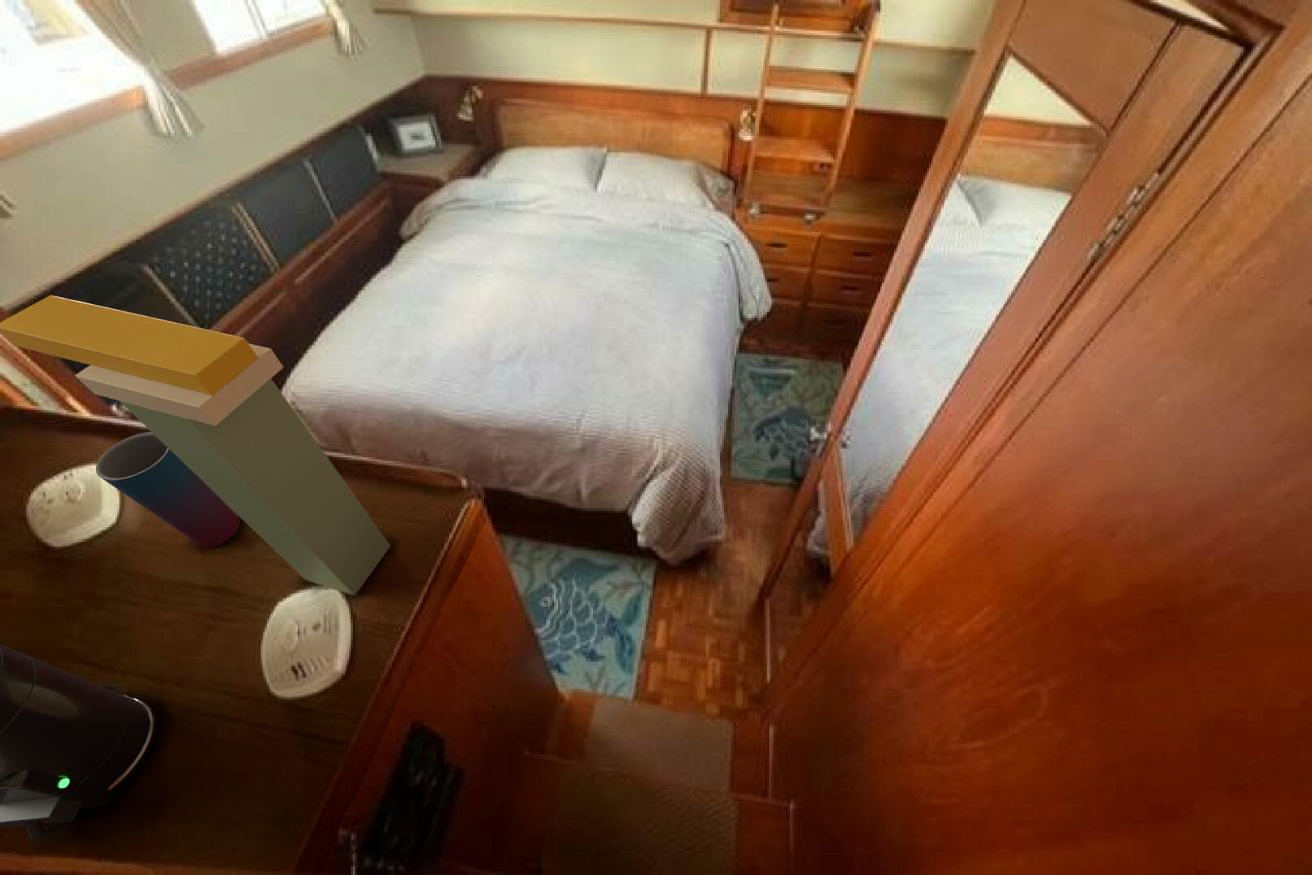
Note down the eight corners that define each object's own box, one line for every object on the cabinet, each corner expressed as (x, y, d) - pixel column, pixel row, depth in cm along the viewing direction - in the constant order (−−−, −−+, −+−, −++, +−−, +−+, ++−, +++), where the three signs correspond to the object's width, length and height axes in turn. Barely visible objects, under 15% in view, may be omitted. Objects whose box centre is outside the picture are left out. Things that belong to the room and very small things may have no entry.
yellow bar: (259, 358, 42) (244, 337, 41) (212, 395, 40) (195, 375, 38) (70, 314, 46) (50, 294, 45) (15, 346, 43) (-8, 326, 42)
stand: (408, 550, 67) (271, 348, 43) (373, 601, 63) (198, 407, 39) (327, 527, 69) (155, 322, 46) (288, 574, 65) (74, 375, 41)
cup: (229, 553, 67) (144, 480, 56) (175, 552, 67) (79, 479, 56) (258, 508, 71) (184, 432, 60) (207, 507, 71) (124, 431, 60)
